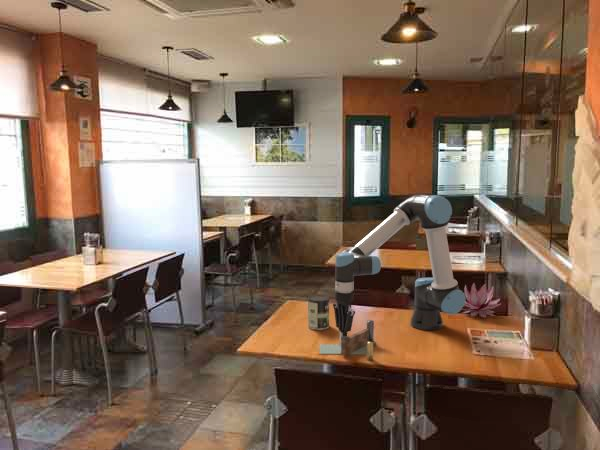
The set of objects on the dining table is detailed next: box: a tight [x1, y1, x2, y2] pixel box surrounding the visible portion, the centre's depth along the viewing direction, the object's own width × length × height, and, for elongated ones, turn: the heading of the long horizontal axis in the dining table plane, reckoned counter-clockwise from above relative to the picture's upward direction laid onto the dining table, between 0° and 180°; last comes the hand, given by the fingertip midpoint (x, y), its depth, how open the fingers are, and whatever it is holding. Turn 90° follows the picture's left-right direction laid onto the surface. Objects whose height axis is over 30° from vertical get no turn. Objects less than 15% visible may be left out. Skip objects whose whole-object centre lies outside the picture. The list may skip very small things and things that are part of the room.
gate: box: [340, 328, 369, 356], centre depth 197 cm, size 17×2×7 cm, turn 137°
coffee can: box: [307, 294, 330, 331], centre depth 227 cm, size 10×10×14 cm
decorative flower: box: [461, 282, 501, 319], centre depth 242 cm, size 21×21×15 cm
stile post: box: [366, 341, 374, 362], centre depth 188 cm, size 2×2×7 cm
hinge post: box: [366, 319, 377, 346], centre depth 204 cm, size 5×5×10 cm
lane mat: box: [318, 343, 367, 355], centre depth 198 cm, size 20×10×1 cm, turn 88°
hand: (343, 346), depth 196 cm, fingers closed
